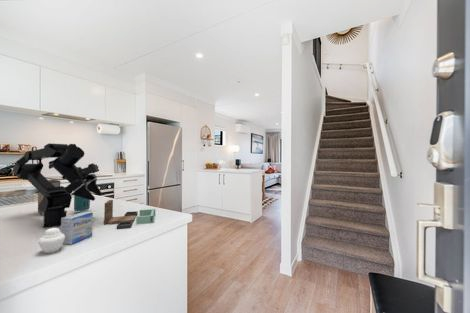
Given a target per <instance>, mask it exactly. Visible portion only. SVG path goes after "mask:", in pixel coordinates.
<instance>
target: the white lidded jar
mask: <svg viewBox="0 0 470 313" xmlns="http://www.w3.org/2000/svg"><path fill="white" fill-rule="evenodd" d="M64 239H65V235H64V234H62V233H61V229H59V227H50V228H48V229H46V230H45V231H44V234H42V236H41V237H40V238H38V240H37V241H38V242H37V244H38V245H39V247H40V249H41V250H42V251H43V253H45V254H53V253H56V252H57V251H59V250H60V248H61V247H62V245H63V244H62V243H63V242H64Z"/></svg>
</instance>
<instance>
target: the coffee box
mask: <svg viewBox="0 0 470 313" xmlns="http://www.w3.org/2000/svg"><path fill="white" fill-rule="evenodd" d="M47 180H48V181H49V182H51V183H52V184H53V185H54V186H55V187H59V186H61V181H60V180H57V179H54V178H53V179H47ZM37 191H38V190H37ZM42 200H43V195H42V194H41V193H40V192H39V191H38V192H37V214H39V215H41V216H42V217H44V212H41V211H39V207H38V206H39V204H40V203H41V201H42Z"/></svg>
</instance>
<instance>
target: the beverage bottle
mask: <svg viewBox="0 0 470 313" xmlns="http://www.w3.org/2000/svg"><path fill="white" fill-rule="evenodd" d="M90 205H91V200H89V199H86V198H82V197H79V196H75V195H73V210H74V211H75V212H86V211H88V210H90Z"/></svg>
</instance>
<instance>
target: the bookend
mask: <svg viewBox="0 0 470 313" xmlns="http://www.w3.org/2000/svg"><path fill="white" fill-rule="evenodd" d="M113 202H114V200H113V199H109V200H107V201H106V202H105V203H104V211H103V212H104V214H103V215H104V218H103V223H104V226H105V225H108V224H109V225H118V223H119V222H129V221H133V223H134V222H135V221H136V217H137V216H136V215H135V216H125V215H122V216H121V215H120V216H113V211H114V210H113V209H114V208H113V207H114V205H113V204H114V203H113Z"/></svg>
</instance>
